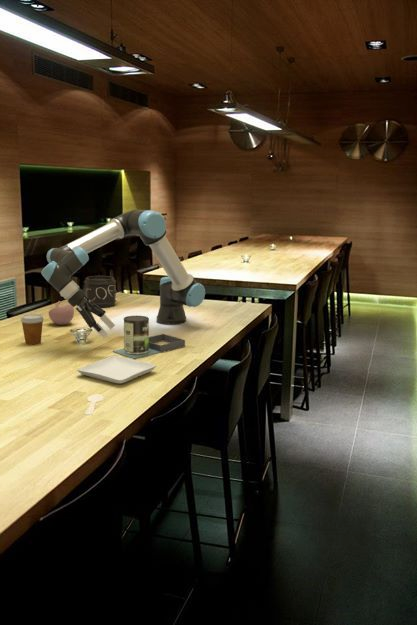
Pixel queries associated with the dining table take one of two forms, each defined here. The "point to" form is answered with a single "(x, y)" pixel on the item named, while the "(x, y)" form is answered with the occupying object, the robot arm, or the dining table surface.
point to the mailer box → (156, 346)
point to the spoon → (93, 402)
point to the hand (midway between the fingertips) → (110, 331)
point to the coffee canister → (101, 290)
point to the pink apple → (61, 314)
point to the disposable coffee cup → (32, 328)
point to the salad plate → (116, 369)
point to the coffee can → (136, 334)
